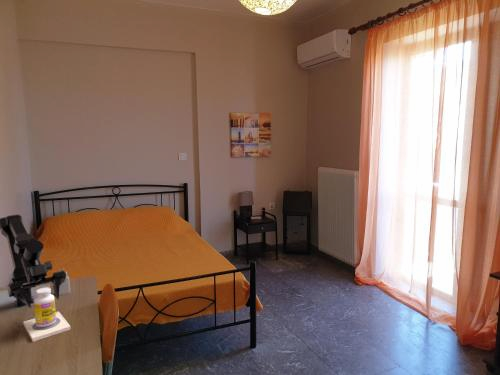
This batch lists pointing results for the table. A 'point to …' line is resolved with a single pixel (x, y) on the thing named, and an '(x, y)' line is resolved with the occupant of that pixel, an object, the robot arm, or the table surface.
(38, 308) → the supplement bottle
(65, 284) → the power adapter
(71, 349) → the table surface
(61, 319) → the base
